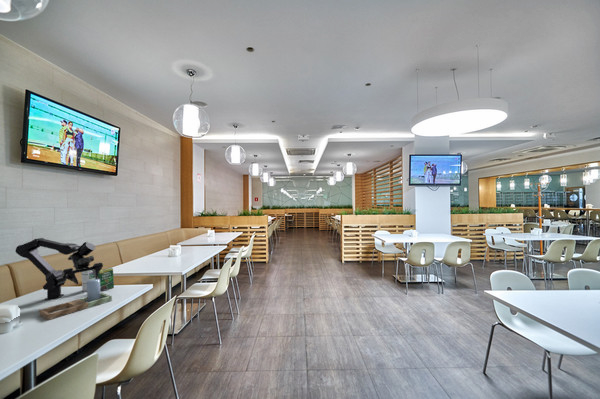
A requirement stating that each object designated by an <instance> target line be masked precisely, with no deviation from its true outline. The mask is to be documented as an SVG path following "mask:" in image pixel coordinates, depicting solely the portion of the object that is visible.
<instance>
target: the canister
mask: <svg viewBox="0 0 600 399" xmlns="http://www.w3.org/2000/svg"><path fill="white" fill-rule="evenodd" d="M100 293H101V291H100V279H93V280H89V281H87V291H86V297H87V303H88V302H91V301H95V300H98V299H102V298H101V295H100Z"/></svg>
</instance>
